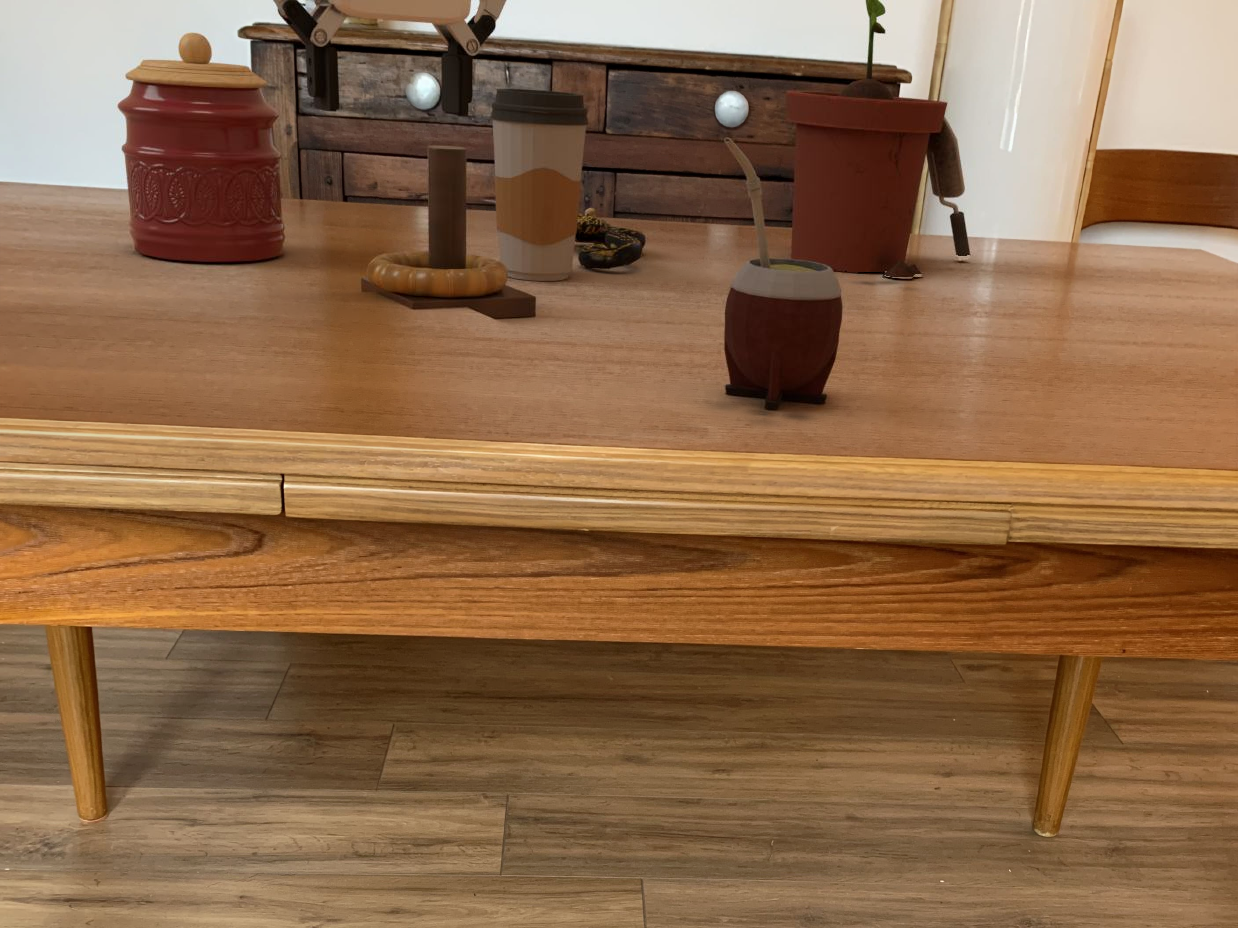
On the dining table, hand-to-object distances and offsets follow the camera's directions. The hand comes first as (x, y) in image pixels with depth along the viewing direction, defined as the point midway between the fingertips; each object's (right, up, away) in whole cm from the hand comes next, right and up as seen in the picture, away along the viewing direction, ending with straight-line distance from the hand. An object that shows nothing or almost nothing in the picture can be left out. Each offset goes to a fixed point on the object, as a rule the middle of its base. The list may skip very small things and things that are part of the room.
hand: (392, 112), depth 95 cm
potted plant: (+41, +2, +44) cm, 60 cm away
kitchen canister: (-21, -3, +24) cm, 32 cm away
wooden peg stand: (+3, -12, +8) cm, 14 cm away
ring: (+2, -9, +7) cm, 12 cm away
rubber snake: (+13, 0, +36) cm, 38 cm away
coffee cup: (+8, -5, +24) cm, 26 cm away
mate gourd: (+26, -23, -12) cm, 37 cm away
